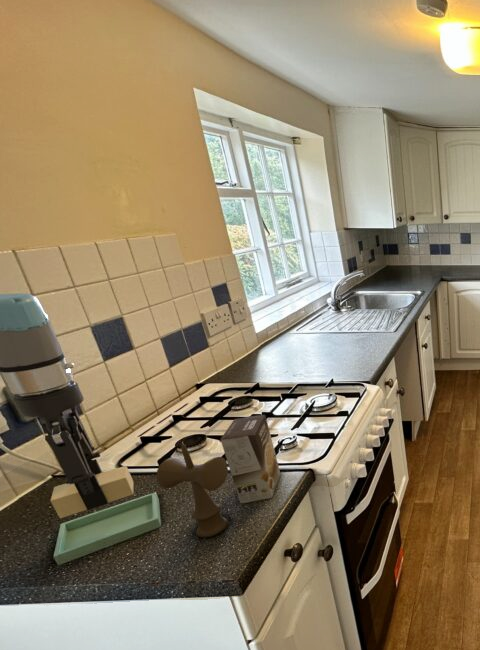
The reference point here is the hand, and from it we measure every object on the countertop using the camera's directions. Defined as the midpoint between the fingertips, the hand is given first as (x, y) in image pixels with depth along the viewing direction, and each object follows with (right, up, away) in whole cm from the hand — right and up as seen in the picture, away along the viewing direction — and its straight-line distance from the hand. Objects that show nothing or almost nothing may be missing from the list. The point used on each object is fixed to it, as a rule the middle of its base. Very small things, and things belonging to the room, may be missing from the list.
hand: (98, 497), depth 78 cm
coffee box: (+22, -3, +15) cm, 27 cm away
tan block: (0, 0, 0) cm, 0 cm away
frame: (0, -7, +3) cm, 8 cm away
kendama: (+20, -7, +3) cm, 21 cm away
